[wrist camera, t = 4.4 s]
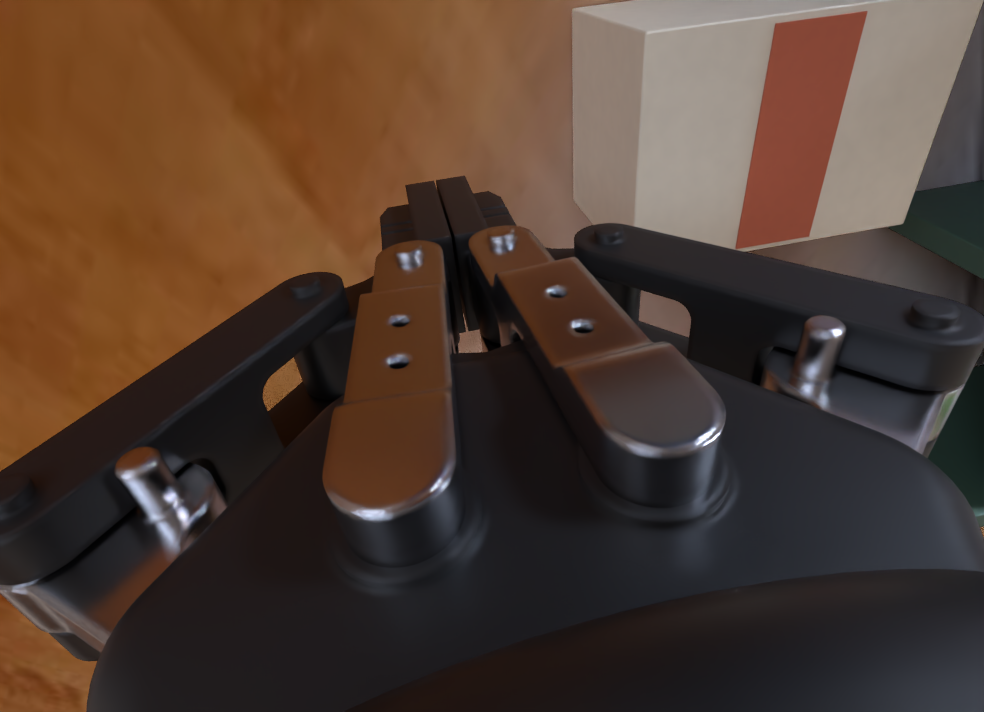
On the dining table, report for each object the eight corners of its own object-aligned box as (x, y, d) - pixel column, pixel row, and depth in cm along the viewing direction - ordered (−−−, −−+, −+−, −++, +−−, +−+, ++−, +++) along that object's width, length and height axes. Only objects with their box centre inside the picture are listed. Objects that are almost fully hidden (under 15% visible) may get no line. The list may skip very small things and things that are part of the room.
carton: (571, 8, 18) (646, 32, 13) (833, -26, 19) (992, -16, 14) (572, 200, 22) (631, 273, 17) (790, 165, 23) (905, 225, 18)
